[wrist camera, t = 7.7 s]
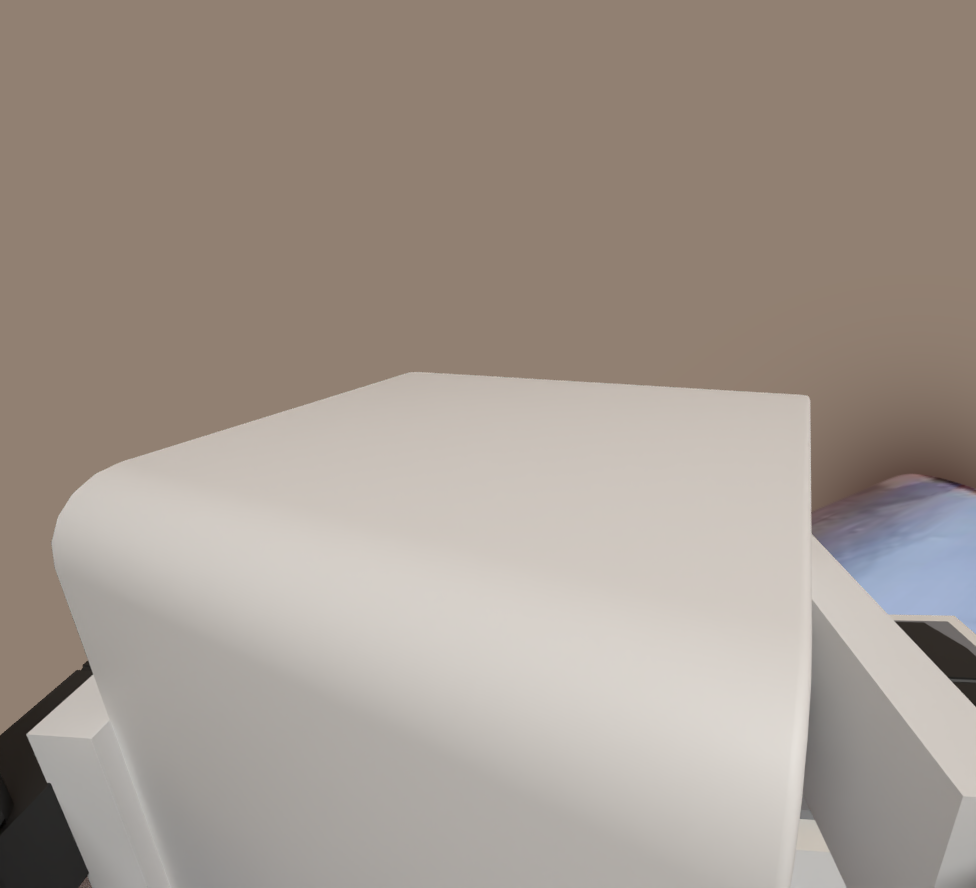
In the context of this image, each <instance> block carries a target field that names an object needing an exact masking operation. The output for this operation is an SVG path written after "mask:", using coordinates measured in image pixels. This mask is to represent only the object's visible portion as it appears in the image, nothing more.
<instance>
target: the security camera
mask: <svg viewBox="0 0 976 888" xmlns="http://www.w3.org/2000/svg"><path fill="white" fill-rule="evenodd" d="M810 440H811V437H810V398H809V397H808V396H806V395H795V394H778V393H760V392H745V391H727V390H711V389H694V388H676V387H660V386H644V385H628V384H611V383H593V382H576V381H560V380H544V379H527V378H510V377H509V378H508V377H493V376H477V375H460V374H443V373H425V372H410V373H406V374H403V375H400V376H396V377H394V378H390V379H387V380H384V381H380V382H377V383H374V384H371V385H368V386H365V387H361V388H358V389H355V390H352V391H348V392H345V393H342V394H338V395H336V396H332V397H329V398H326V399H322V400H319V401H316V402H313V403H309V404H306V405H303V406H300V407H297V408H293V409H290V410H287V411H284V412H280V413H277V414H274V415H271V416H268V417H264V418H261V419H258V420H255V421H252V422H248V423H245V424H242V425H239V426H235V427H232V428H229V429H226V430H222V431H219V432H216V433H213V434H209V435H206V436H203V437H200V438H197V439H193V440H190V441H187V442H184V443H180V444H177V445H174V446H171V447H168V448H164V449H161V450H158V451H155V452H152V453H148V454H145V455H142V456H139V457H136V458H132V459H129V460H126V461H122V462H120V463H118V464H115V465H113V466H111V467H109V468H107V469H105V470H103V471H100V472H98V473H96V474H95V475H93V476H92V477H91V478H90V479H89V480H88V481H87V482H85V483H84V484H83V485H82V486H81V487H80V488H78V489H77V490H76V491H75V492H74V493H73V494H72V496H71V497H70V499H69V500H68V502H67V504H66V505H65V507H64V508H63V510H62V511H61V513H60V514H59V516H58V518H57V522H56V526H55V531H54V535H53V538H52V542H51V544H52V551H53V558H54V566H55V570H56V572H57V576H58V578H59V581H60V584H61V587H62V589H63V592H64V595H65V597H66V600H67V603H68V606H69V609H70V611H71V614H72V617H73V620H74V623H75V625H76V628H77V631H78V634H79V636H80V639H81V642H82V645H83V647H84V650H85V653H86V656H87V658H88V661H89V664H90V667H91V669H92V672H93V675H94V678H95V681H96V683H97V686H98V689H99V692H100V694H101V697H102V700H103V703H104V705H105V708H106V711H107V714H108V716H109V719H110V721H111V724H112V727H113V729H114V732H115V735H116V738H117V740H118V743H119V746H120V749H121V751H122V754H123V757H124V760H125V763H126V765H127V768H128V771H129V774H130V776H131V779H132V782H133V785H134V787H135V790H136V793H137V796H138V799H139V801H140V804H141V807H142V810H143V812H144V815H145V818H146V821H147V823H148V826H149V829H150V832H151V835H152V837H153V840H154V843H155V846H156V848H157V851H158V854H159V857H160V859H161V862H162V865H163V868H164V870H165V873H166V876H167V879H168V882H169V884H170V887H171V888H790V887H791V880H792V874H793V868H794V862H795V853H796V845H797V837H798V829H799V821H800V812H801V804H802V794H803V784H804V773H805V762H806V751H807V741H808V726H809V711H810V695H811V672H812V561H811V453H810V452H811V449H810V448H811V441H810Z"/></svg>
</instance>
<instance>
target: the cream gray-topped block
mask: <svg viewBox="0 0 976 888" xmlns="http://www.w3.org/2000/svg"><path fill="white" fill-rule="evenodd" d="M889 616H890V617H891V618H892V619H893V620H894V621H895V622H924V623H926V624H927V625H929V626H931V627H932V628H934V629H936V630H938V631H939V632H941V633H943V634H944V635H946V636H948V637H949V638H951V639H953V640H954V641H956V642H958V643H959V644H961V645H963V646H964V647H966V648H968V649H969V650H970V651H971V652H972V653H973V654H974V655H975V656H976V634H975V633H974V632H972V631H971V630H970V629H969V628H968V627H967V626H965V625H964V624H963V623H962V622H961V621H960V620H958V619H957V618H956V617H955V616H931V615H889ZM790 888H847V887H846V885H845V883H844V881H843V879H842V877H841V875H840V872H839V870H838V868H837V866H836V864H835V862H834V860H833V857H832V855H831V853H830V851H829V849H828V847H827V845H826V842H825V840H824V838H823V836H822V834H821V832H820V830H819V828H818V825H817V823H816V821H815V819H814V817H813V815H812V813H811V810H810V808H809V806H808V804H807V802H806V800H805V798H804V796H803V794H802V804H801V812H800V821H799V829H798V837H797V845H796V853H795V862H794V868H793V874H792V880H791V887H790Z"/></svg>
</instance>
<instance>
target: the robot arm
mask: <svg viewBox="0 0 976 888" xmlns="http://www.w3.org/2000/svg"><path fill="white" fill-rule="evenodd" d="M811 561H812V672H811V695H810V711H809V726H808V741H807V751H806V762H805V773H804V784H803V796H804V798H805V800H806V802H807V804H808V806H809V808H810V810H811V813H812V815H813V817H814V819H815V821H816V823H817V825H818V828H819V830H820V832H821V834H822V836H823V838H824V840H825V842H826V845H827V847H828V849H829V851H830V853H831V855H832V857H833V860H834V862H835V864H836V866H837V868H838V870H839V872H840V875H841V877H842V879H843V881H844V883H845V885H846V887H847V888H976V656H975V655H974V654H973V653H972V652H971V651H970V650H969V649H968V648H966V647H964V646H963V645H961V644H959V643H958V642H956V641H954V640H953V639H951V638H949V637H948V636H946V635H944V634H943V633H941V632H939V631H938V630H936V629H934V628H932V627H931V626H929V625H927V624H926V623H924V622H895V621H894V620H893V619H892V618H891V617H890V616H889V615H888V614H887V613H886V612H885V611H884V610H883V609H882V608H881V607H880V606H879V605H878V604H877V602H876V601H875V600H874V599H873V598H872V597H871V596H870V595H869V594H868V593H867V592H866V591H865V590H864V589H863V588H862V587H861V586H860V585H859V584H858V582H857V581H856V580H855V579H854V578H853V577H852V576H851V575H850V574H849V573H848V572H847V571H846V570H845V569H844V568H843V567H842V566H841V565H840V564H839V562H838V561H837V560H836V559H835V558H834V557H833V556H832V555H831V554H830V553H829V552H828V551H827V550H826V549H825V548H824V547H823V546H822V545H821V544H820V542H819V541H818V540H817V539H816V538H815V537H814V536H813V535H812V534H811ZM86 877H88V879H89V881H90V884H91V886H92V888H171V887H170V884H169V882H168V879H167V876H166V873H165V870H164V868H163V865H162V862H161V859H160V857H159V854H158V851H157V848H156V846H155V843H154V840H153V837H152V835H151V832H150V829H149V826H148V823H147V821H146V818H145V815H144V812H143V810H142V807H141V804H140V801H139V799H138V796H137V793H136V790H135V787H134V785H133V782H132V779H131V776H130V774H129V771H128V768H127V765H126V763H125V760H124V757H123V754H122V751H121V749H120V746H119V743H118V740H117V738H116V735H115V732H114V729H113V727H112V724H111V721H110V719H109V716H108V714H107V711H106V708H105V705H104V703H103V700H102V697H101V694H100V692H99V689H98V686H97V683H96V681H95V678H94V675H93V672H92V669H91V667H90V664H89V661H87V662H86V663H85V664H83V668H82V670H77V671H75V672H74V673H73V674H72V675H71V676H69V677H68V678H67V679H66V680H65V681H63V682H62V683H61V684H60V685H59V686H58V687H57V688H55V689H54V690H53V691H52V692H51V693H49V694H48V695H47V696H46V697H45V698H44V699H42V700H41V701H40V702H39V703H38V704H37V705H35V706H34V707H33V708H32V709H31V710H30V711H28V712H27V713H26V714H25V715H24V716H23V717H21V718H20V719H19V720H18V721H17V722H16V723H14V724H13V725H12V726H11V727H10V728H8V729H7V730H6V731H5V732H4V733H3V734H1V735H0V888H78V887H79V886H80V884H81V883H82V882H83V881H84V879H85V878H86Z"/></svg>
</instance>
